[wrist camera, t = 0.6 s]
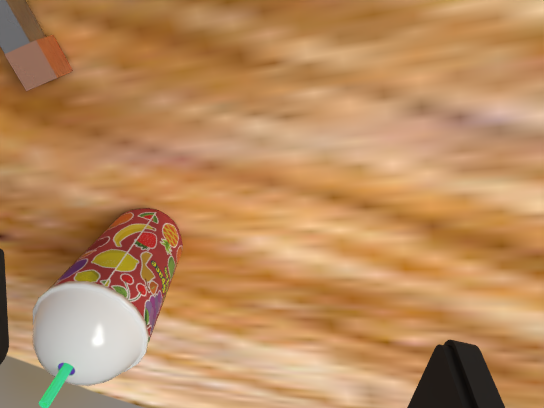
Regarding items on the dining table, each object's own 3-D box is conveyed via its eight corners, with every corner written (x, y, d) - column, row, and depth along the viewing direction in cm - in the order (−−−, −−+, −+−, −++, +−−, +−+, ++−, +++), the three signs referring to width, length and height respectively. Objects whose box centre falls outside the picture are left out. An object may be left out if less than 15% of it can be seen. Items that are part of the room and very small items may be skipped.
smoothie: (187, 277, 48) (108, 463, 31) (106, 258, 48) (-21, 433, 31) (200, 206, 44) (117, 372, 27) (112, 185, 44) (-30, 336, 27)
